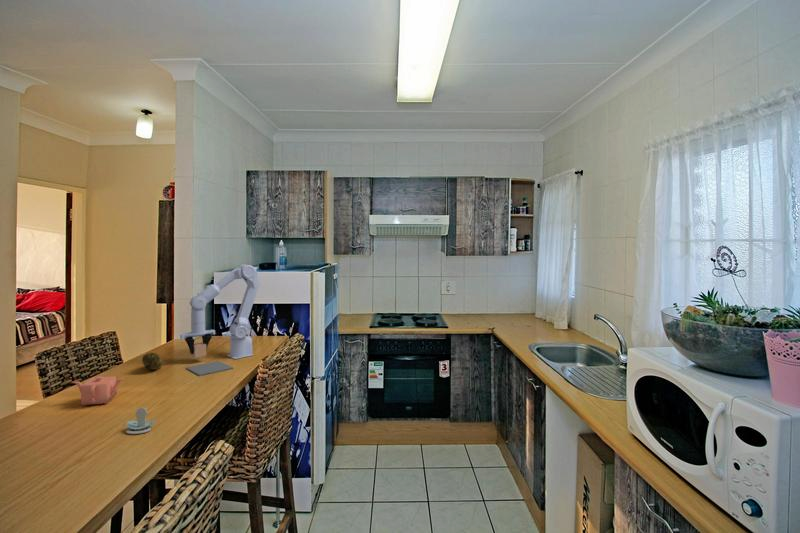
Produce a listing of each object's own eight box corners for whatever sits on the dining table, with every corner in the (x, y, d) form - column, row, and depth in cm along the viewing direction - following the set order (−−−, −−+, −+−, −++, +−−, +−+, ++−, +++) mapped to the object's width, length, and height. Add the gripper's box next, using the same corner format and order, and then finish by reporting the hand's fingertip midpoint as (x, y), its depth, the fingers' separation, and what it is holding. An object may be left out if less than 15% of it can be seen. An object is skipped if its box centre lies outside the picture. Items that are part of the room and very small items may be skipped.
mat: (218, 362, 185) (218, 360, 185) (233, 368, 176) (233, 367, 175) (185, 368, 174) (185, 367, 174) (199, 376, 165) (199, 374, 165)
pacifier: (148, 435, 115) (158, 425, 121) (148, 413, 114) (157, 404, 120) (120, 436, 114) (131, 426, 120) (119, 414, 113) (130, 405, 119)
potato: (170, 365, 179) (170, 347, 179) (156, 374, 166) (156, 355, 166) (150, 365, 178) (150, 347, 178) (134, 374, 165) (134, 355, 165)
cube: (201, 353, 188) (201, 342, 188) (206, 355, 185) (206, 344, 185) (190, 355, 185) (190, 344, 184) (195, 357, 181) (194, 346, 181)
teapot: (118, 405, 134) (118, 381, 134) (64, 410, 130) (63, 384, 129) (130, 393, 146) (130, 370, 145) (81, 397, 141) (80, 373, 141)
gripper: (210, 319, 192) (210, 347, 193) (177, 323, 181) (177, 353, 182) (217, 321, 187) (217, 350, 188) (183, 325, 177) (184, 356, 177)
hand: (198, 352), depth 185 cm, fingers closed on cube, 5 cm apart
